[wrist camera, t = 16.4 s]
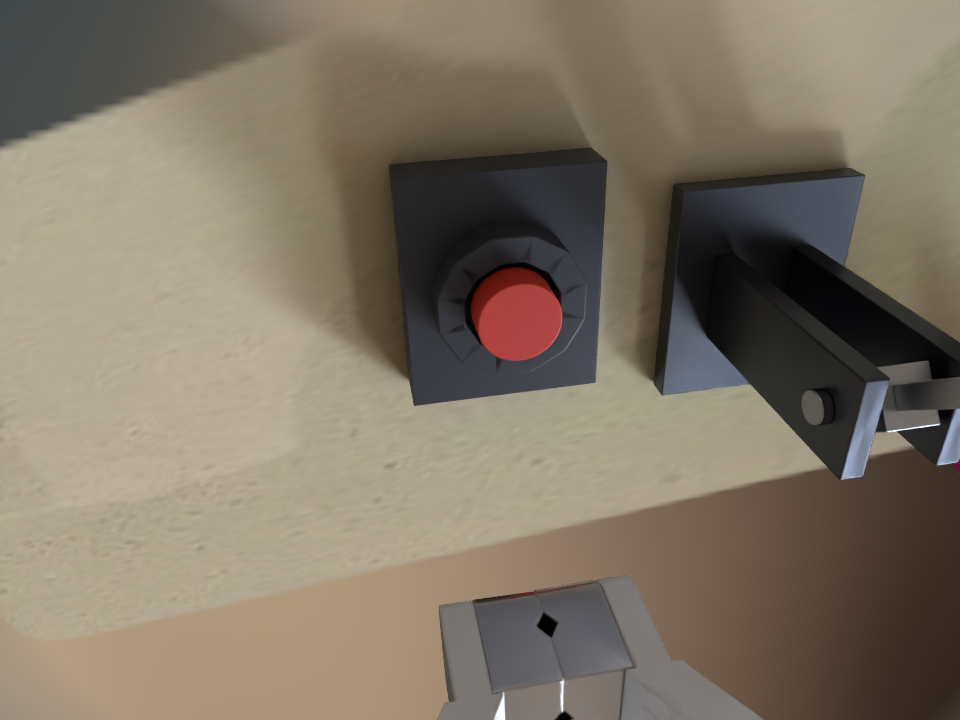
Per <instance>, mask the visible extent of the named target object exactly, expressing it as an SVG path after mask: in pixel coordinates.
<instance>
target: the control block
mask: <svg viewBox="0 0 960 720" xmlns="http://www.w3.org/2000/svg"><path fill="white" fill-rule="evenodd" d="M389 171H390V182H391V192H392V203H393V213H394V224H395V234H396V245H397V255H398V266H399V276H400V287H401V297H402V308H403V318H404V329H405V339H406V350H407V360H408V370H409V381H410V387H411V392H412V397H413V402H414V405H415V406H416V405H424V404H432V403H440V402H448V401H456V400H463V399H471V398H479V397H487V396H495V395H503V394H510V393H518V392H526V391H534V390H542V389H550V388H557V387H565V386H573V385H581V384H589V383H595V382H596V366H597V347H598V328H599V309H600V290H601V271H602V252H603V233H604V214H605V195H606V176H607V160H605V159H604V158H603V157H602V156H601V155H599V154H598V153H597V152H596V151H595V150H593V149H592V148H583V149H571V150H559V151H547V152H535V153H523V154H511V155H499V156H487V157H475V158H463V159H451V160H439V161H427V162H415V163H403V164H391V165H389ZM509 267H522V268H527V269H530V270H533V271H534V272H536V273H538V274H539V275H541V276H542V277H543V278H544V279H545V281H546V282H547V283H548V285H549V287H550V288H551V290H552V291H553V293H554V295H555V296H556V298H557V299H558V301H559V303H560V306H561V309H562V325H561V329H560V331H559V334H558V336H557V337H556V339H555V340H554V342H553V343H552V344H551V345H550V346H549V347H548V348H547V349H546V350H545V351H543V352H542V353H540V354H539V355H537V356H535V357H532V358H529V359H526V360H519V361H511V360H505V359H502V358H499V357H497V356H495V355H493V354H491V353H490V352H489V351H488V350H487V349H486V348H485V347H484V346H483V344H482V343H481V341H480V338H479V336H478V333H477V331H476V328H475V325H474V323H473V320H472V316H471V301H472V298H473V295H474V293H475V291H476V289H477V287H478V286H479V285H480V284H481V282H482V281H483V280H484V279H485V278H487V277H488V276H489V275H491V274H492V273H494V272H496V271H498V270H501V269H504V268H509Z"/></svg>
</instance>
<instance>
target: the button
mask: <svg viewBox="0 0 960 720" xmlns="http://www.w3.org/2000/svg"><path fill="white" fill-rule="evenodd" d="M471 316H472V320H473V323H474V325H475V328H476V331H477V333H478V336H479V338H480V341H481V343H482V344H483V346H484V347H485V348H486V349H487V350H488V351H489V352H490V353H491V354H493V355H495V356H497V357H499V358H502V359H505V360H511V361H519V360H526V359H529V358H532V357H535V356H537V355H539V354H540V353H542V352H543V351H545V350H546V349H547V348H548V347H549V346H550V345H551V344H552V343H553V342H554V340H555V339H556V337H557V336H558V334H559V331H560V329H561V325H562V309H561V306H560V303H559V301H558V299H557V298H556V296H555V295H554V293H553V291H552V290H551V288H550V287H549V285H548V283H547V282H546V281H545V279H544V278H543V277H542V276H541V275H539V274H538V273H536V272H534V271H533V270H530V269H527V268H522V267H509V268H504V269H501V270H498V271H496V272H494V273H492V274H491V275H489V276H488V277H487V278H485V279H484V280H483V281H482V282H481V284H480V285H479V286H478V287H477V289H476V291H475V293H474V295H473V298H472V301H471Z"/></svg>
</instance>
